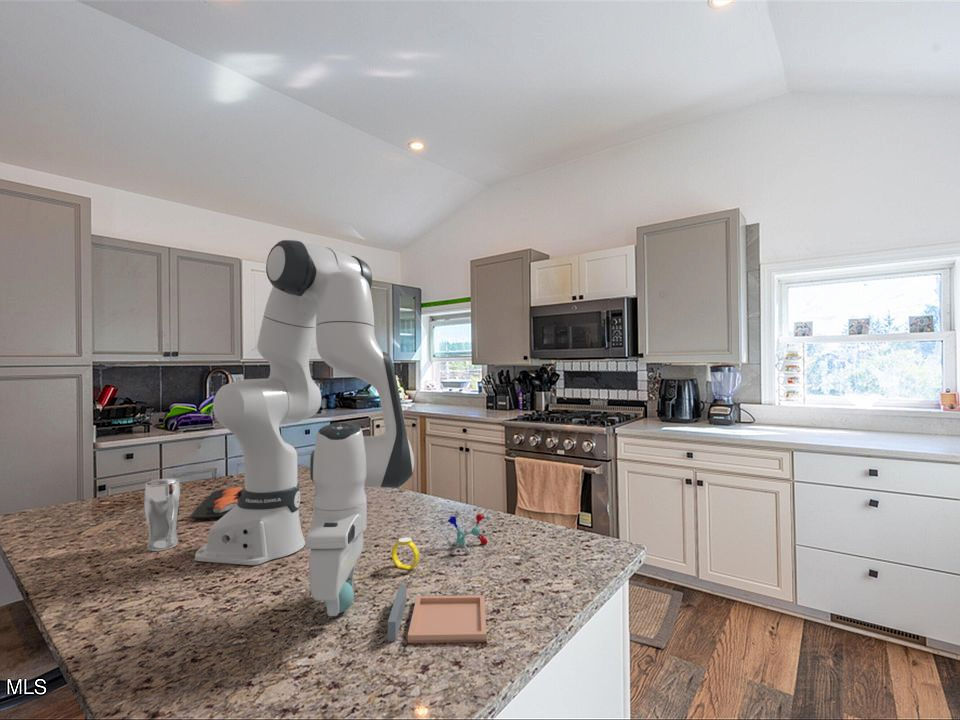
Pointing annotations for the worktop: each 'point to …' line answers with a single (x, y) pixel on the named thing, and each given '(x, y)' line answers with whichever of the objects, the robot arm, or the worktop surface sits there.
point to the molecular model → (465, 531)
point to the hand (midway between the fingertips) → (341, 600)
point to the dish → (448, 619)
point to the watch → (416, 553)
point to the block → (396, 613)
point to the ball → (345, 597)
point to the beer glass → (162, 513)
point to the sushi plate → (218, 504)
